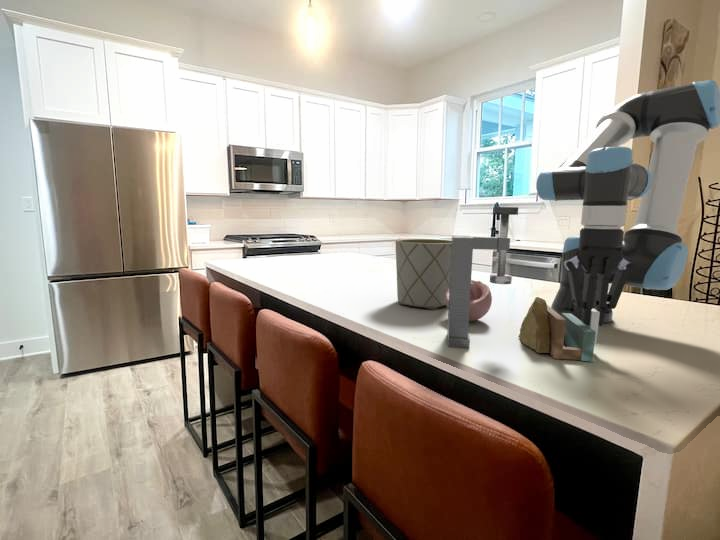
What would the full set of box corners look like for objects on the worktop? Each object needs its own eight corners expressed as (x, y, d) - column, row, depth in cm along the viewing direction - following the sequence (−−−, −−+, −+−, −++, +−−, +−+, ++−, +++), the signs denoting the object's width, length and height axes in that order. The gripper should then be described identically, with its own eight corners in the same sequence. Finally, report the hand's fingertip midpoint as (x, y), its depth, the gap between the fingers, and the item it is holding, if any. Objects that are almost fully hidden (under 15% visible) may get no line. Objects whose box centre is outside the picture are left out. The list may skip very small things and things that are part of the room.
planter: (441, 314, 109) (444, 244, 106) (383, 305, 119) (384, 241, 116) (463, 301, 124) (466, 240, 122) (410, 294, 135) (411, 238, 132)
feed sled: (568, 338, 88) (571, 304, 87) (592, 361, 74) (596, 321, 73) (536, 336, 89) (538, 303, 88) (553, 358, 76) (557, 319, 75)
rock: (563, 345, 74) (570, 322, 82) (529, 314, 76) (539, 293, 83) (522, 370, 81) (531, 346, 89) (492, 340, 83) (504, 319, 90)
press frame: (497, 337, 89) (504, 236, 85) (504, 351, 80) (512, 239, 76) (447, 334, 91) (451, 235, 87) (448, 346, 82) (453, 237, 79)
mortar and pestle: (435, 320, 103) (437, 278, 101) (457, 312, 111) (459, 273, 110) (477, 329, 94) (480, 284, 93) (497, 320, 103) (500, 278, 101)
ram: (510, 280, 84) (515, 207, 82) (514, 285, 79) (520, 207, 77) (486, 279, 85) (491, 207, 83) (489, 283, 80) (494, 207, 78)
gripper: (628, 227, 79) (615, 336, 83) (561, 226, 82) (551, 332, 85) (648, 228, 72) (633, 348, 76) (573, 227, 74) (562, 343, 78)
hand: (590, 339), depth 80 cm, fingers closed
